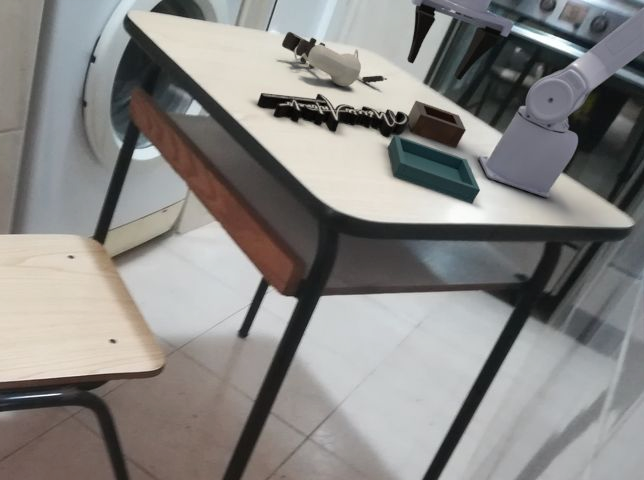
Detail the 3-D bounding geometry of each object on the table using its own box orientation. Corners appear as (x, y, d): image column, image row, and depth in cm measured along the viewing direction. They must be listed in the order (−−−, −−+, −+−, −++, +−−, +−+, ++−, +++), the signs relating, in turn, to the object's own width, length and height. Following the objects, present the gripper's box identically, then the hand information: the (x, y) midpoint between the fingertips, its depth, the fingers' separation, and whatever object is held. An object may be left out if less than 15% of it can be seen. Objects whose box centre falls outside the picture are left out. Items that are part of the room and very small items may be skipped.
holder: (459, 172, 97) (466, 159, 96) (472, 203, 89) (480, 190, 87) (387, 147, 96) (394, 134, 95) (393, 176, 88) (400, 162, 87)
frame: (449, 132, 111) (458, 115, 109) (455, 147, 105) (466, 130, 103) (407, 117, 110) (415, 100, 109) (411, 132, 105) (420, 114, 103)
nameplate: (389, 101, 109) (428, 130, 103) (384, 110, 110) (423, 139, 104) (251, 85, 96) (287, 117, 90) (248, 96, 97) (283, 128, 91)
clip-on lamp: (342, 85, 126) (273, 51, 115) (360, 51, 123) (291, 13, 112) (382, 107, 118) (312, 73, 107) (402, 71, 115) (332, 33, 104)
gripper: (524, -16, 96) (473, 77, 105) (430, -50, 96) (386, 47, 104) (536, -7, 91) (482, 90, 99) (437, -43, 90) (390, 59, 99)
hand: (433, 69), depth 101 cm, fingers open, 7 cm apart
